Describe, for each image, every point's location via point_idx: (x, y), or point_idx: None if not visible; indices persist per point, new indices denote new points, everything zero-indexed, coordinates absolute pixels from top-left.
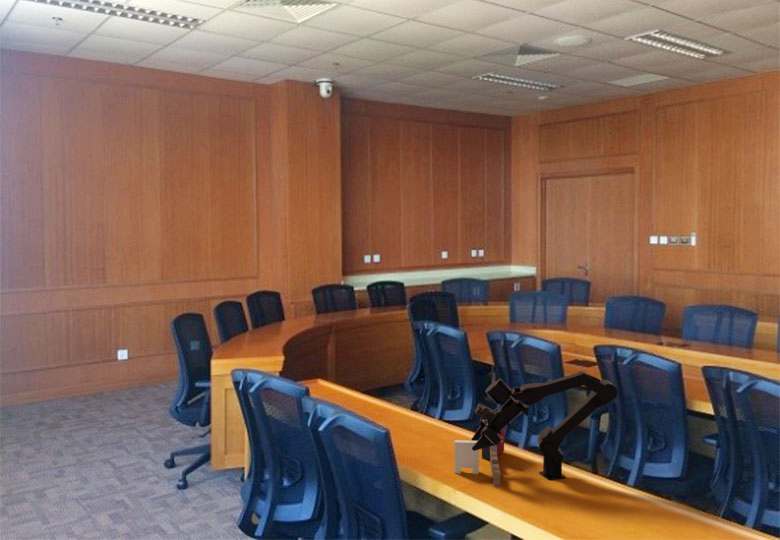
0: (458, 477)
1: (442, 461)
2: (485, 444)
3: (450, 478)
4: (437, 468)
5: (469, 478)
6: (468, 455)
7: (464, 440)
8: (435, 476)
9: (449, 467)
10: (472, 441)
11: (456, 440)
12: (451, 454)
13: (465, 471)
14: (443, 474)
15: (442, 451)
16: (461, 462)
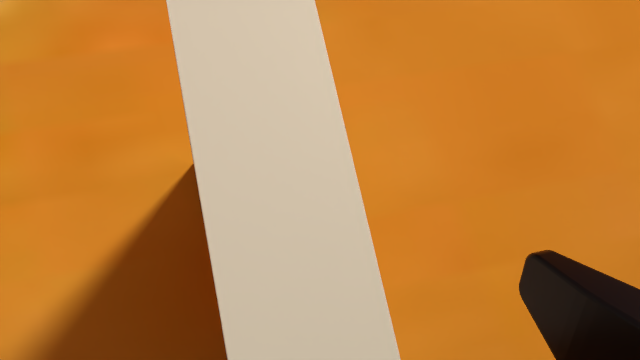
0: (91, 216)
1: (434, 29)
2: None
3: (46, 149)
4: None
5: (89, 326)
6: (213, 277)
7: (339, 148)
8: (68, 19)
9: None
10: (332, 322)
11: (285, 5)
12: (604, 74)
13: None
14: (136, 76)
15: (631, 4)
16: (200, 202)
